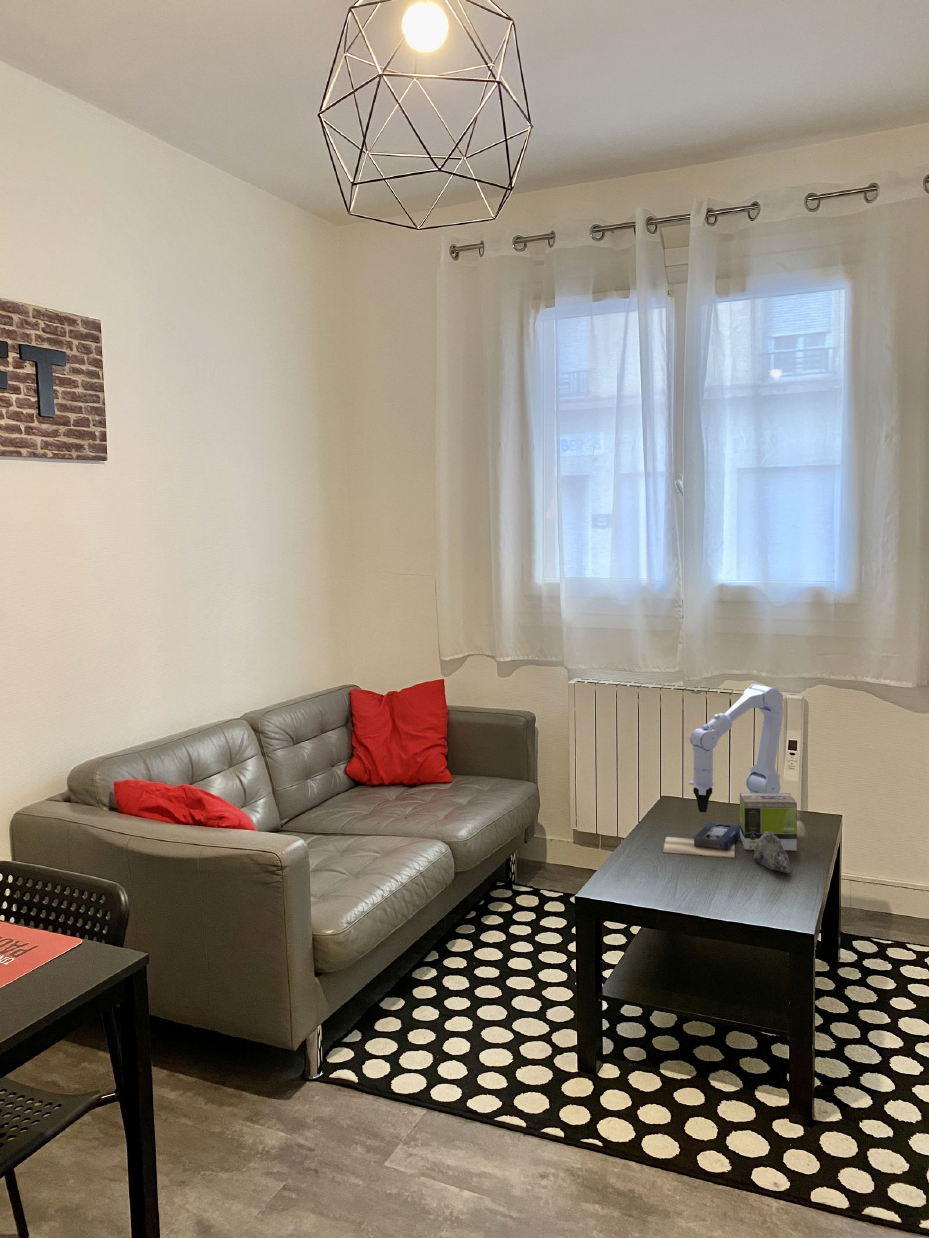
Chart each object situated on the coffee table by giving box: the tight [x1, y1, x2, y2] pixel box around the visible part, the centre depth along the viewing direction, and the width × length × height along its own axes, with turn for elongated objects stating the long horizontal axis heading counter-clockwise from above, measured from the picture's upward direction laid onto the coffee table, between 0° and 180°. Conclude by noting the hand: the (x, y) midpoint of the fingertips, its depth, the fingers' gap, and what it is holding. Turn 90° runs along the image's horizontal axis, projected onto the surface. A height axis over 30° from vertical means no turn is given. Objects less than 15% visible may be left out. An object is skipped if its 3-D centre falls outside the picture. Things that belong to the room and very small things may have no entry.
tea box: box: [739, 792, 798, 852], centre depth 288 cm, size 15×10×15 cm, turn 82°
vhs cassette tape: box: [693, 821, 740, 850], centre depth 293 cm, size 18×3×10 cm
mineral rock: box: [752, 831, 792, 874], centre depth 269 cm, size 13×11×10 cm
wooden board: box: [662, 836, 736, 859], centre depth 287 cm, size 14×20×1 cm
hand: (702, 811), depth 299 cm, fingers closed
